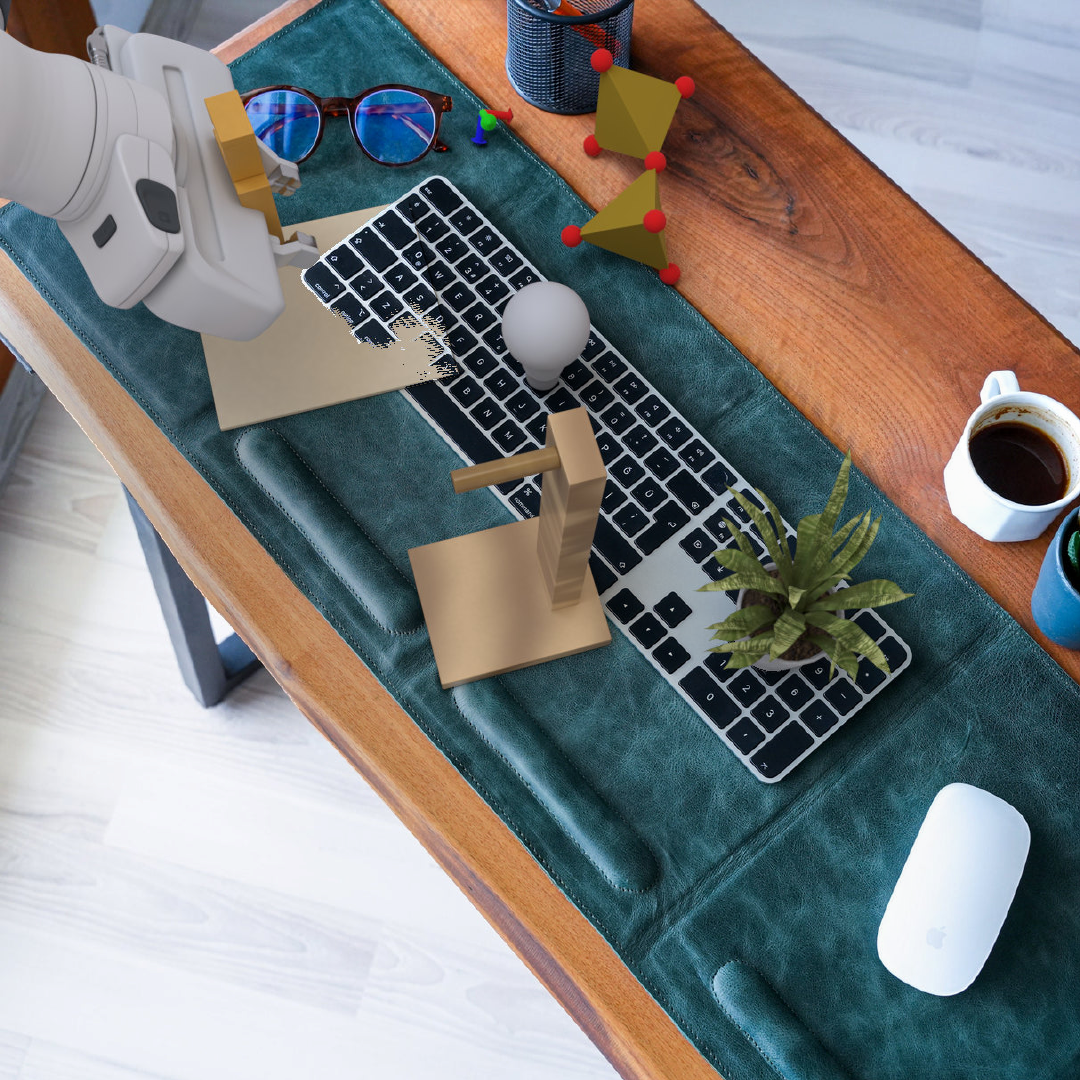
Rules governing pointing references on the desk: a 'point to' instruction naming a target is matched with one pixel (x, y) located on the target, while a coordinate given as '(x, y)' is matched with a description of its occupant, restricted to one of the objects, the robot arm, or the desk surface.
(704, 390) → the desk surface
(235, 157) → the stepped golden-orange block
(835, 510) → the house plant
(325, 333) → the flat beige board
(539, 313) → the lightbulb
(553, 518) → the coat rack
